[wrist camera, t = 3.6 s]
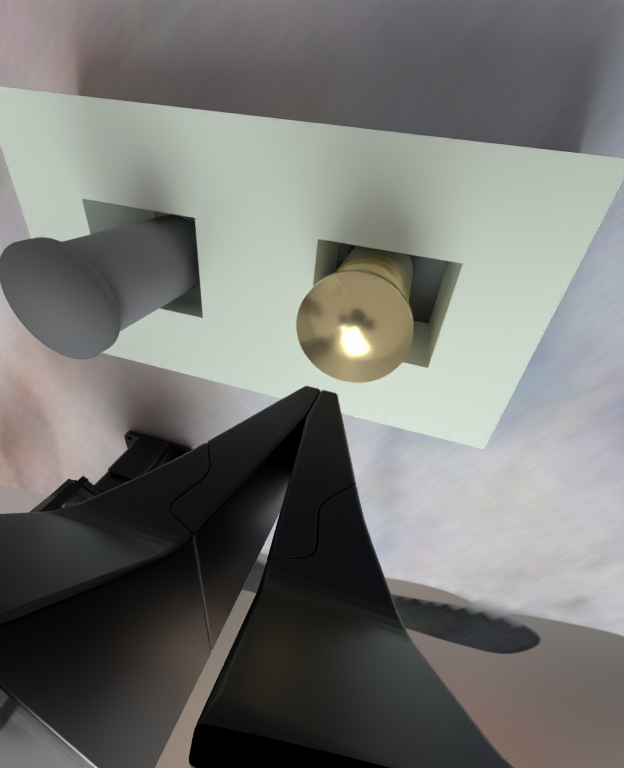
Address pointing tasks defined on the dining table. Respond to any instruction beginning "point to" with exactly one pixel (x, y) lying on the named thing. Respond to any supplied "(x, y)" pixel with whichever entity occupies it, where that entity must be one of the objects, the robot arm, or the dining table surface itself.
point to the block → (319, 240)
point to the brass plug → (359, 316)
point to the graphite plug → (98, 281)
